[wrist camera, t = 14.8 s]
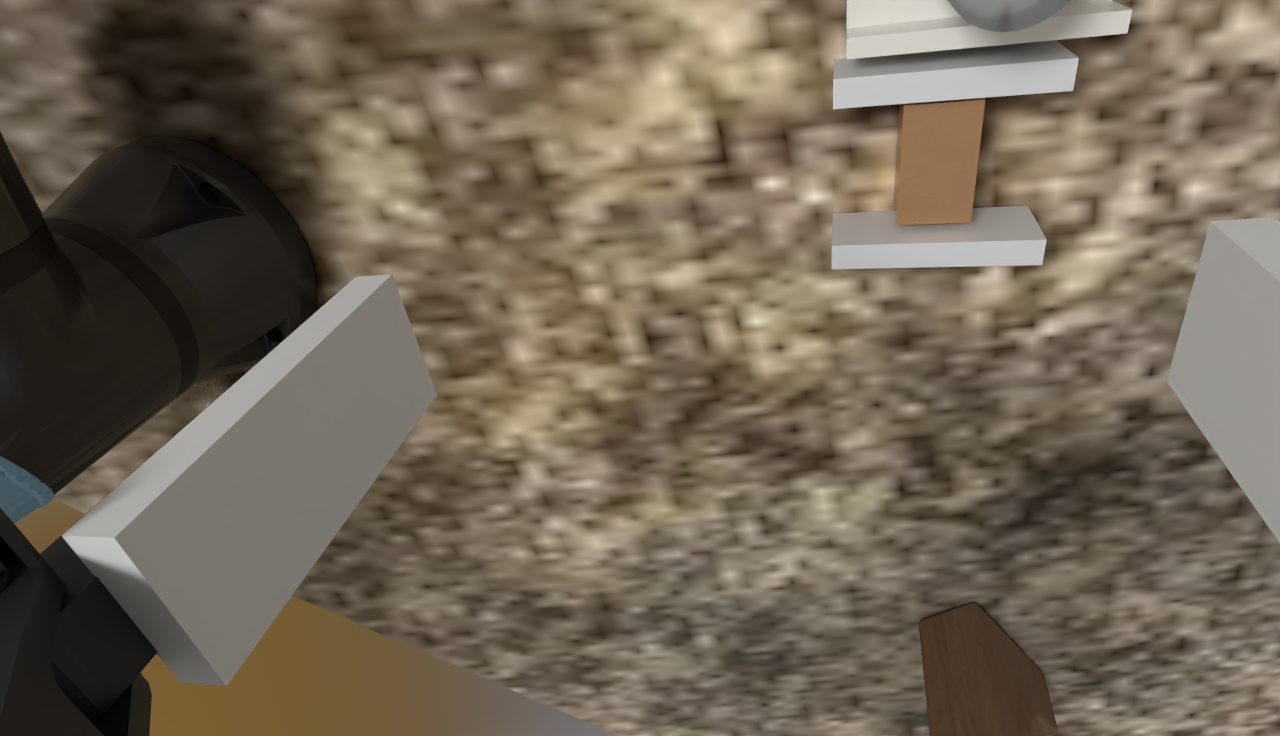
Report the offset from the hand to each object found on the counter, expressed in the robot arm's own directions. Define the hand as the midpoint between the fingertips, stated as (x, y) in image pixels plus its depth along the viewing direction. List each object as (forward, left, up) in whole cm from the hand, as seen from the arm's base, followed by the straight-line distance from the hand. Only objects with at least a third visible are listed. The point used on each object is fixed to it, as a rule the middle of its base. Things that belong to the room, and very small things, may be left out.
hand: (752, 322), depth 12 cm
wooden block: (+12, -41, -26) cm, 50 cm away
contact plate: (+6, -5, -25) cm, 26 cm away
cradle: (+6, -5, -26) cm, 27 cm away
